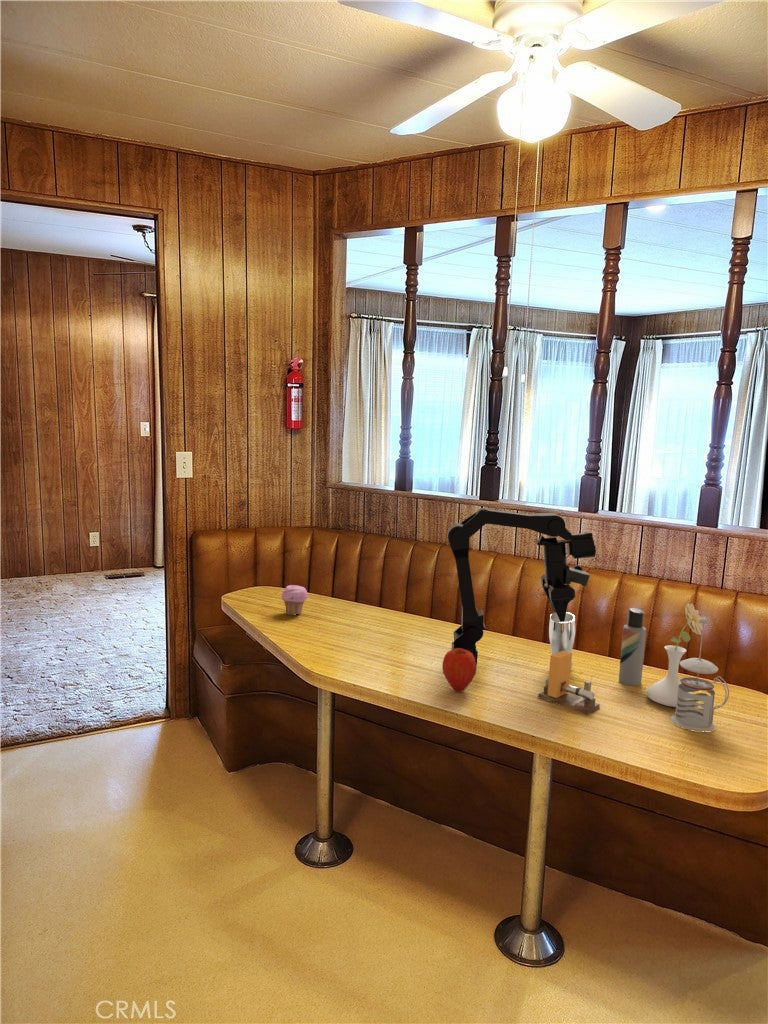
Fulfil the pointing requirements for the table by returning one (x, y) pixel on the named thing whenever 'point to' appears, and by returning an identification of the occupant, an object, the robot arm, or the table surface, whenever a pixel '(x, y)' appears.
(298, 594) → the cupcake
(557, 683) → the collar
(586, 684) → the pipe board
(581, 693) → the steel pipe
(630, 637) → the lotion bottle
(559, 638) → the beer glass
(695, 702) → the french press
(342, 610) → the table surface
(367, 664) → the table surface
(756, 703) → the table surface
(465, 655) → the red strawberry
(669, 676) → the flower in vase
